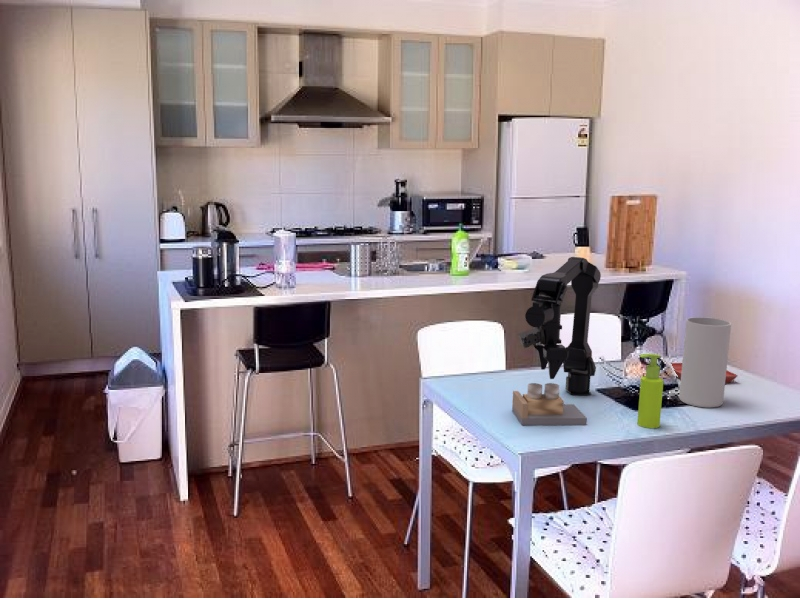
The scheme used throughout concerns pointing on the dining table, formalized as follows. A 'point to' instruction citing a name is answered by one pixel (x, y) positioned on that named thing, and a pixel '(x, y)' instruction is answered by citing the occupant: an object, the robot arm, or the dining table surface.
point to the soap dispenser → (650, 394)
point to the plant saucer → (678, 369)
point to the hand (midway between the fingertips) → (547, 374)
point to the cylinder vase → (704, 361)
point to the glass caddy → (543, 399)
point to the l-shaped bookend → (567, 418)
